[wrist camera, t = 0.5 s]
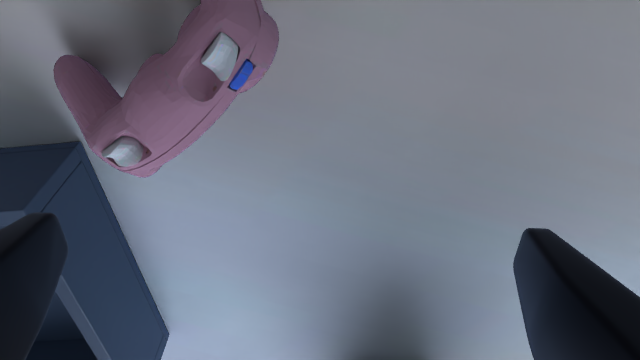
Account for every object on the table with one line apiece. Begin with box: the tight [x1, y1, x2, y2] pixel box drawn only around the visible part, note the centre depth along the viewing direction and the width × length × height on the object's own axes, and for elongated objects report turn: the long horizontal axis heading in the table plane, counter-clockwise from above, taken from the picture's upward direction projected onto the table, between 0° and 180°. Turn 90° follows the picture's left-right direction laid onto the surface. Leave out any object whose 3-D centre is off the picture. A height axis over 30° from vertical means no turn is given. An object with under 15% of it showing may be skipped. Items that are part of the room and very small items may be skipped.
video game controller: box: [54, 0, 279, 177], centre depth 20 cm, size 10×5×7 cm, turn 132°
